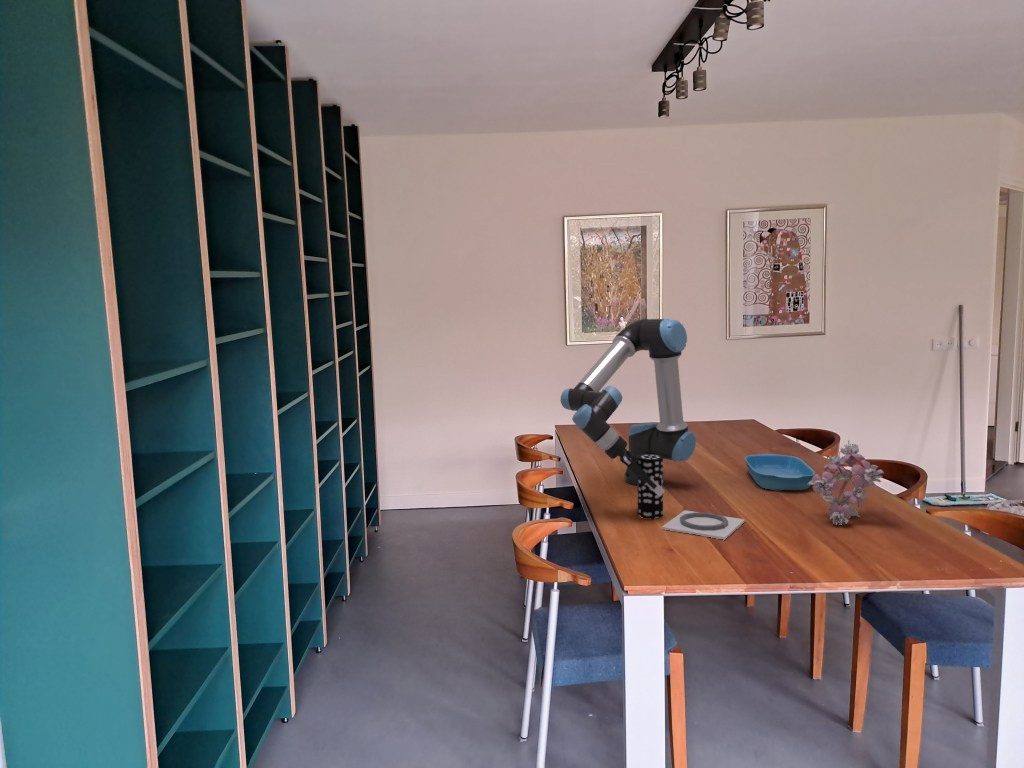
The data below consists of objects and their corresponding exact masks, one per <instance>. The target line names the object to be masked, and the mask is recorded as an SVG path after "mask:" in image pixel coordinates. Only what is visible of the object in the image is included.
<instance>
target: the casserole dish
mask: <svg viewBox="0 0 1024 768" xmlns="http://www.w3.org/2000/svg"><path fill="white" fill-rule="evenodd" d="M744 461H745V464H746V467H747V471H748V472H749V474H750V476H751V477H752V479H753V480H754V482H755V483H756V484H757V485H758V486H759V487H761V488H762V489H764V488H765V489H764V490H767V489H770V490H769V491H782V490H800V491H805V490H807V489H809V488H810V486H811V485H807V484H808V483H809V482H810V481H811V480H812V478H813V476H814V475H816V472H815V470H814V469H813V468H812V467H811V466H809V465H808V464H807V463H806V462H805V461H804V460H803V459H802V458H800V457H797V456H793V455H786V454H777V453H759V454H749V455H747V456H745V457H744Z"/></svg>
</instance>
